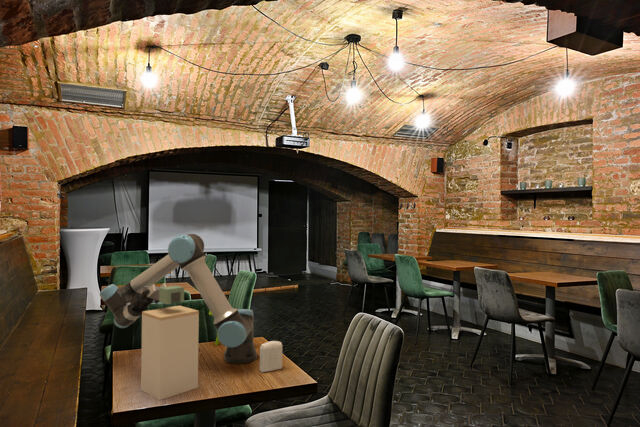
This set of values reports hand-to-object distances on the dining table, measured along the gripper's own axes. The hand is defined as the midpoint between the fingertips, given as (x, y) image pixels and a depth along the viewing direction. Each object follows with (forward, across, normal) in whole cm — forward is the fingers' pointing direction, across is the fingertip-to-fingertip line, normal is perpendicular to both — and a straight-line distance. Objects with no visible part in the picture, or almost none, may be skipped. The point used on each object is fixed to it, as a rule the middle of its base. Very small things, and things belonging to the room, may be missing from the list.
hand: (159, 286), depth 178 cm
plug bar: (-1, 0, -5) cm, 5 cm away
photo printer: (-1, -41, -44) cm, 60 cm away
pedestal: (-12, 0, -37) cm, 39 cm away
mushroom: (-43, -47, -20) cm, 66 cm away
